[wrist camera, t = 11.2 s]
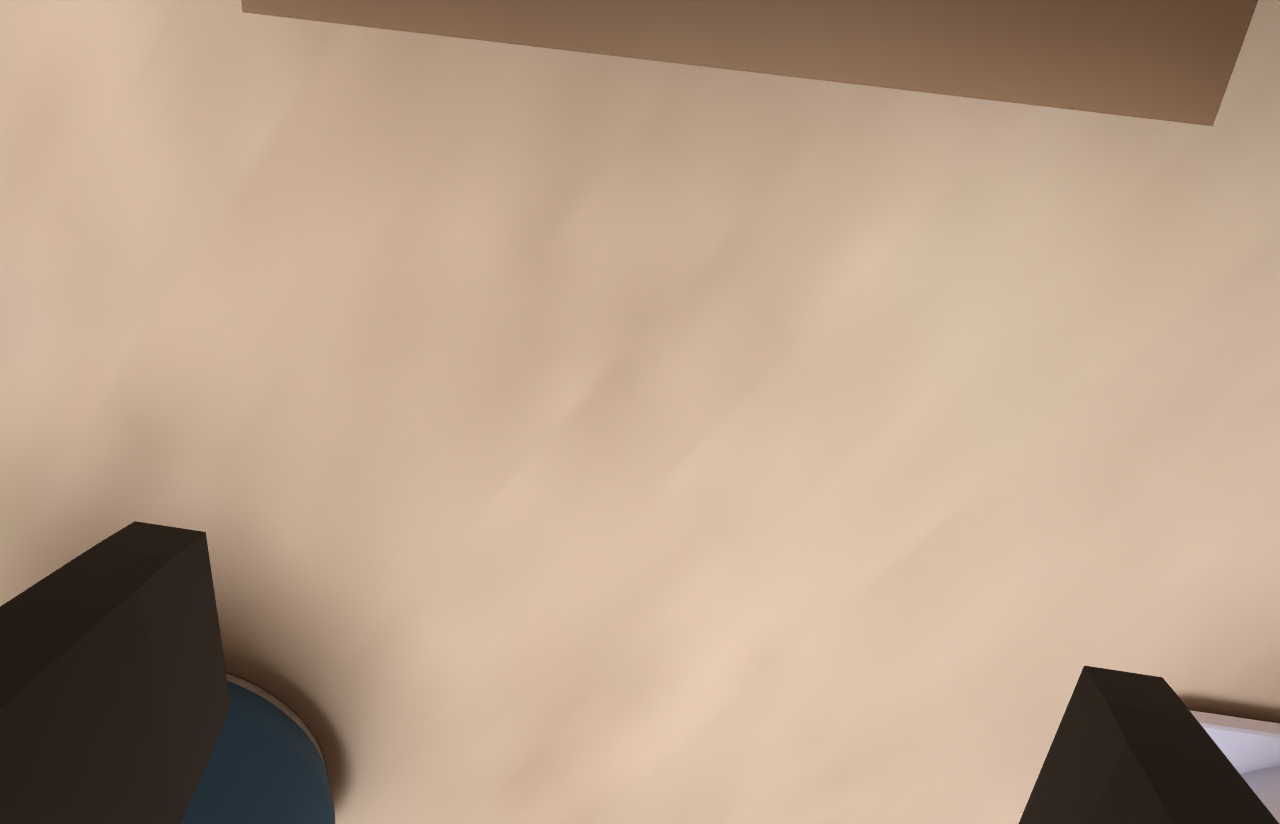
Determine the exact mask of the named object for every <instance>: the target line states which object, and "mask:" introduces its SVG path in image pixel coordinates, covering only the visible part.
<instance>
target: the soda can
mask: <svg viewBox="0 0 1280 824" xmlns="http://www.w3.org/2000/svg"><path fill="white" fill-rule="evenodd" d="M226 677H227V684H228V691H229V698H230V705H231V707H230V710H229V712H228V715H227V717H226V720H225V722H224V725H223V727H222V729H221V732H220V734H219V737H218V739H217V742H216V744H215V746H214V749H213V751H212V754H211V756H210V759H209V761H208V763H207V766H206V768H205V770H204V773H203V775H202V777H201V779H200V782H199V784H198V786H197V788H196V791H195V793H194V795H193V797H192V800H191V802H190V804H189V806H188V809H187V811H186V813H185V816H184V818H183V820H182V821H181V823H180V824H335V811H334V804H333V798H332V793H331V788H330V784H329V779H328V775H327V771H326V767H325V763H324V759H323V756H322V752H321V750H320V748H319V745H318V743H317V741H316V740H315V738H314V736H313V735H312V733H311V732H310V730H309V729H308V728H307V726H306V725H305V724H304V723H303V722H302V720H301V719H300V718H299V717H298V716H297V715H296V714H295V713H294V712H293V711H291V710H290V709H289V708H288V707H287V706H286V705H284V704H283V703H282V702H281V701H279V700H278V699H277V698H275V697H274V696H272V695H271V694H269V693H268V692H266V691H264V690H263V689H261V688H259V687H257V686H255V685H253V684H251V683H249V682H247V681H245V680H243V679H240V678H238V677H235V676H233V675H230V674H227V673H226Z"/></svg>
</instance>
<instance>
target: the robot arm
mask: <svg viewBox="0 0 1280 824" xmlns="http://www.w3.org/2000/svg"><path fill="white" fill-rule="evenodd" d="M230 707H231V705H230V698H229V691H228V684H227V677H226V670H225V663H224V656H223V649H222V642H221V636H220V629H219V622H218V615H217V608H216V601H215V594H214V587H213V580H212V573H211V567H210V560H209V553H208V546H207V539H206V532H201V531H194V530H188V529H181V528H175V527H168V526H161V525H155V524H148V523H142V522H133V523H132V524H130V525H128V526H127V527H125V528H123V529H122V530H120V531H118V532H116V533H115V534H113V535H111V536H110V537H108V538H107V539H105V540H103V541H102V542H100V543H99V544H97V545H95V546H94V547H92V548H91V549H89V550H87V551H86V552H84V553H83V554H81V555H80V556H78V557H76V558H75V559H73V560H72V561H70V562H69V563H67V564H66V565H64V566H62V567H61V568H59V569H58V570H56V571H55V572H53V573H52V574H50V575H49V576H47V577H45V578H44V579H42V580H41V581H39V582H38V583H36V584H35V585H33V586H32V587H30V588H28V589H27V590H25V591H24V592H22V593H21V594H19V595H18V596H16V597H15V598H13V599H11V600H10V601H8V602H7V603H5V604H4V605H2V606H1V607H0V824H180V823H181V821H182V820H183V818H184V816H185V813H186V811H187V809H188V806H189V804H190V802H191V800H192V797H193V795H194V793H195V791H196V788H197V786H198V784H199V782H200V779H201V777H202V775H203V773H204V770H205V768H206V766H207V763H208V761H209V759H210V756H211V754H212V751H213V749H214V746H215V744H216V742H217V739H218V737H219V734H220V732H221V729H222V727H223V725H224V722H225V720H226V717H227V715H228V712H229V710H230ZM1019 824H1280V723H1273V722H1266V721H1259V720H1253V719H1246V718H1239V717H1232V716H1225V715H1218V714H1211V713H1205V712H1198V711H1191V710H1189V709H1188V708H1187V707H1186V705H1185V704H1184V703H1183V702H1182V701H1181V699H1180V698H1179V697H1178V696H1177V694H1176V693H1175V692H1174V691H1173V690H1172V688H1171V687H1170V686H1169V685H1168V684H1167V682H1166V681H1165V680H1164V679H1163V678H1162V677H1156V676H1149V675H1142V674H1136V673H1129V672H1123V671H1116V670H1109V669H1103V668H1096V667H1090V666H1084V668H1083V670H1082V672H1081V675H1080V677H1079V680H1078V682H1077V684H1076V687H1075V689H1074V692H1073V694H1072V697H1071V699H1070V701H1069V704H1068V706H1067V709H1066V711H1065V713H1064V716H1063V718H1062V721H1061V723H1060V725H1059V728H1058V730H1057V733H1056V735H1055V738H1054V740H1053V742H1052V745H1051V747H1050V750H1049V752H1048V754H1047V757H1046V759H1045V762H1044V764H1043V766H1042V769H1041V771H1040V774H1039V776H1038V779H1037V781H1036V783H1035V786H1034V788H1033V791H1032V793H1031V795H1030V798H1029V800H1028V803H1027V805H1026V807H1025V810H1024V812H1023V815H1022V817H1021V820H1020V822H1019Z"/></svg>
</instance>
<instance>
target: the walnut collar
mask: <svg viewBox="0 0 1280 824" xmlns="http://www.w3.org/2000/svg"><path fill="white" fill-rule="evenodd" d="M1257 2H1258V0H242V10H243V12H245V13H254V14H262V15H271V16H279V17H288V18H296V19H305V20H313V21H322V22H330V23H339V24H347V25H356V26H365V27H373V28H382V29H390V30H399V31H407V32H416V33H424V34H433V35H441V36H450V37H458V38H467V39H475V40H484V41H492V42H501V43H509V44H518V45H526V46H535V47H544V48H552V49H561V50H569V51H578V52H586V53H595V54H603V55H612V56H620V57H629V58H637V59H646V60H654V61H663V62H671V63H680V64H688V65H697V66H705V67H714V68H722V69H731V70H740V71H748V72H757V73H765V74H774V75H782V76H791V77H799V78H808V79H816V80H825V81H833V82H842V83H850V84H859V85H867V86H876V87H884V88H893V89H901V90H910V91H919V92H927V93H936V94H944V95H953V96H961V97H970V98H978V99H987V100H995V101H1004V102H1012V103H1021V104H1029V105H1038V106H1046V107H1055V108H1063V109H1072V110H1080V111H1089V112H1097V113H1106V114H1115V115H1123V116H1132V117H1140V118H1149V119H1157V120H1166V121H1174V122H1183V123H1191V124H1200V125H1208V126H1213V124H1214V121H1215V118H1216V115H1217V113H1218V110H1219V107H1220V104H1221V102H1222V99H1223V96H1224V93H1225V91H1226V88H1227V85H1228V82H1229V79H1230V77H1231V74H1232V71H1233V68H1234V66H1235V63H1236V60H1237V57H1238V55H1239V52H1240V49H1241V46H1242V44H1243V41H1244V38H1245V35H1246V33H1247V30H1248V27H1249V24H1250V21H1251V19H1252V16H1253V13H1254V10H1255V8H1256V5H1257Z"/></svg>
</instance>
